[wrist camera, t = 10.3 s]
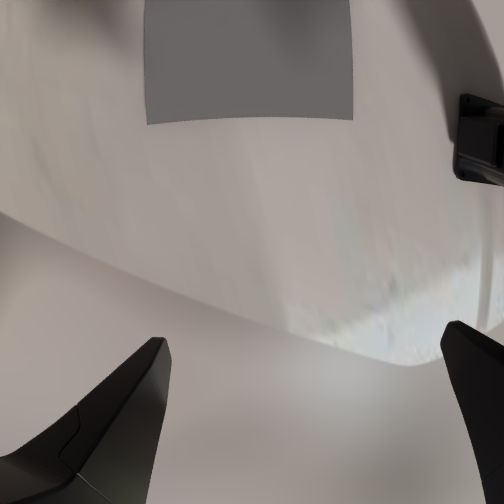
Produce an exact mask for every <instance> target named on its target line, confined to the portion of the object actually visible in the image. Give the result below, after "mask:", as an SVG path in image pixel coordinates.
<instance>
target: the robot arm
mask: <svg viewBox="0 0 504 504" xmlns="http://www.w3.org/2000/svg"><path fill="white" fill-rule="evenodd" d="M466 98H467V103H466V100H465V99H466ZM461 171H462V175H461V174H460V173H461ZM455 175H456V177H457V178H458V179H460V180H463V181H471V182H478V183H485V184H492V185H499V186H503V187H504V106H502V105H500V104H497V103H494V102H491V101H489V100H486V99H483V98H480V97H477V96H474V95H471V94H461V96H460V114H459V134H458V148H457V159H456V168H455ZM440 346H441V350H442V353H443V357H444V360H445V363H446V367H447V370H448V374H449V377H450V380H451V384H452V387H453V390H454V392H455V395H456V398H457V401H458V403H459V406H460V409H461V412H462V415H463V418H464V421H465V424H466V427H467V430H468V433H469V437H470V440H471V443H472V447H473V450H474V454H475V458H476V461H477V465H478V469H479V473H480V477H481V480H482V486H483V490H484V496H485V501H486V504H504V346H503V345H501V344H500V343H498V342H496V341H494V340H493V339H491V338H489V337H488V336H486V335H484V334H482V333H481V332H479V331H477V330H475V329H474V328H472V327H470V326H468V325H467V324H465V323H463V322H461V321H459V320H457V321H451V322H449V323H448V324H447V326H446V328H445V331H444V333H443V336H442V338H441V342H440ZM171 362H172V360H171V354H170V351H169V347H168V343H167V340H166V339H165V338H164V337H152V338H150V339H149V340H148V341H147V342H146V343H145V344H144V345H142V346H141V347H140V348H139V349H138V350H137V351H136V352H135V353H133V354H132V355H131V356H130V357H129V358H128V359H127V360H126V361H125V362H123V363H122V364H121V365H120V366H119V367H118V368H117V369H115V370H114V371H113V372H112V373H111V374H110V375H109V376H108V377H106V378H105V379H104V380H103V381H102V382H101V383H100V384H99V385H97V386H96V387H95V388H94V389H93V390H92V391H91V392H90V393H89V394H87V395H86V396H85V397H84V398H83V399H82V400H81V401H79V402H78V403H77V405H75V406H74V407H73V408H71V409H70V410H69V411H68V412H67V413H66V414H64V416H62V417H61V418H60V419H59V420H57V421H56V422H55V423H54V424H52V425H51V426H50V427H48V428H47V429H46V430H44V431H43V432H42V433H40V434H39V435H37V436H36V437H35V438H33V439H32V440H30V441H29V442H27V443H26V444H24V445H23V446H22V447H20V448H19V449H17V450H16V451H14V452H12V453H10V454H8V455H5V456H2V457H0V504H145V503H146V498H147V493H148V488H149V483H150V479H151V474H152V469H153V464H154V460H155V455H156V451H157V446H158V442H159V437H160V433H161V429H162V424H163V420H164V416H165V411H166V406H167V398H168V389H169V381H170V372H171Z"/></svg>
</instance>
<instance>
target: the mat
mask: <svg viewBox="0 0 504 504" xmlns="http://www.w3.org/2000/svg"><path fill="white" fill-rule="evenodd" d="M144 61H145V96H146V115H147V125H151V124H159V123H168V122H178V121H189V120H201V119H217V118H238V117H307V118H329V119H344V120H353V57H352V35H351V19H350V6H349V0H145V30H144Z"/></svg>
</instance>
